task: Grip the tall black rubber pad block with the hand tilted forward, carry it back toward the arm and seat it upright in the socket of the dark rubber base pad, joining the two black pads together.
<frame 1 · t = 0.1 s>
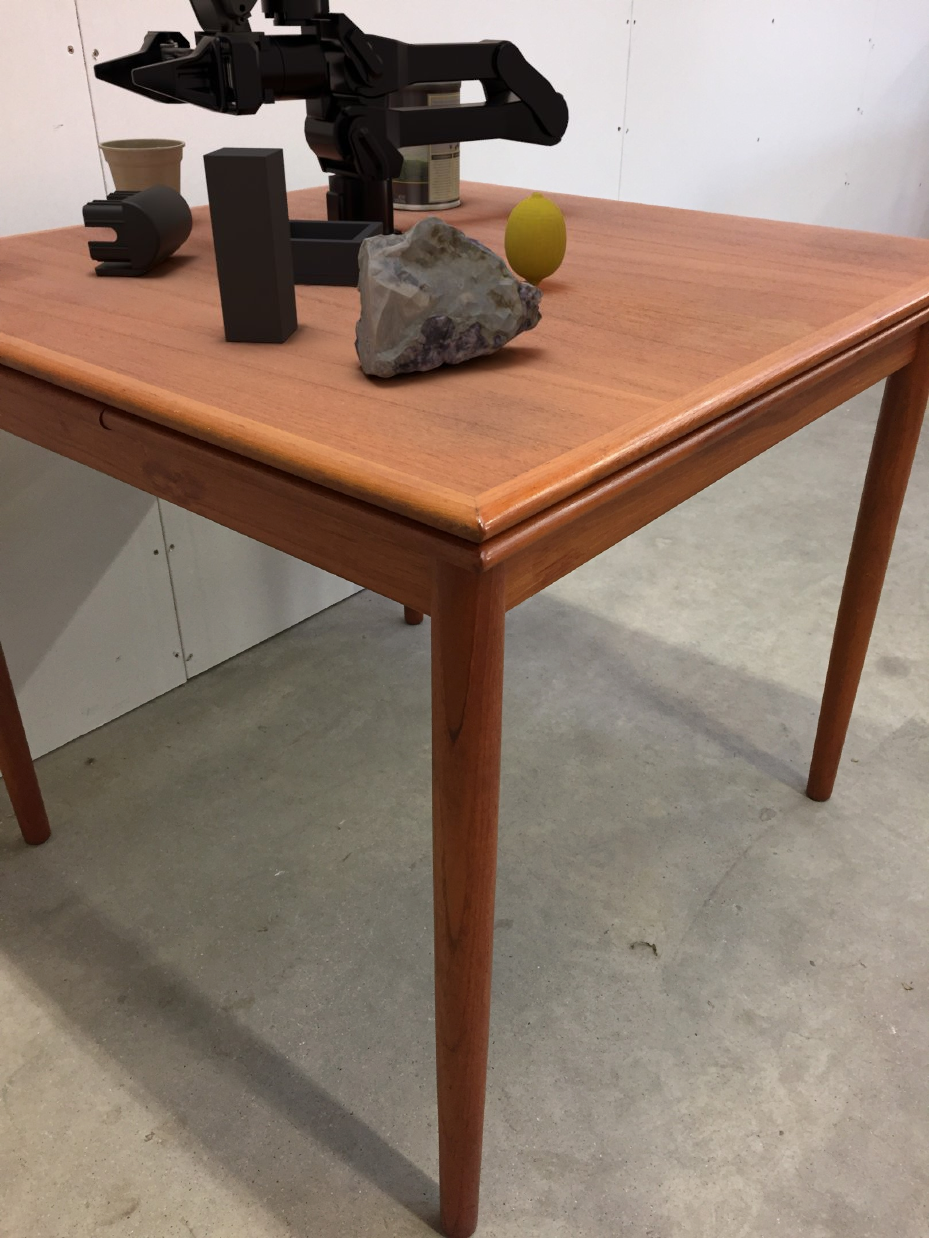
hand: (113, 74, 90), 17 cm above the table, tool horizontal, fingers open, 9 cm apart
mineral rock: (448, 367, 72), on the table
coffee can: (421, 205, 129), on the table
lemon: (533, 288, 92), on the table
flower pot: (154, 226, 117), on the table
pad block: (262, 334, 78), on the table
socket pad: (322, 272, 96), on the table
end cap: (147, 268, 99), on the table
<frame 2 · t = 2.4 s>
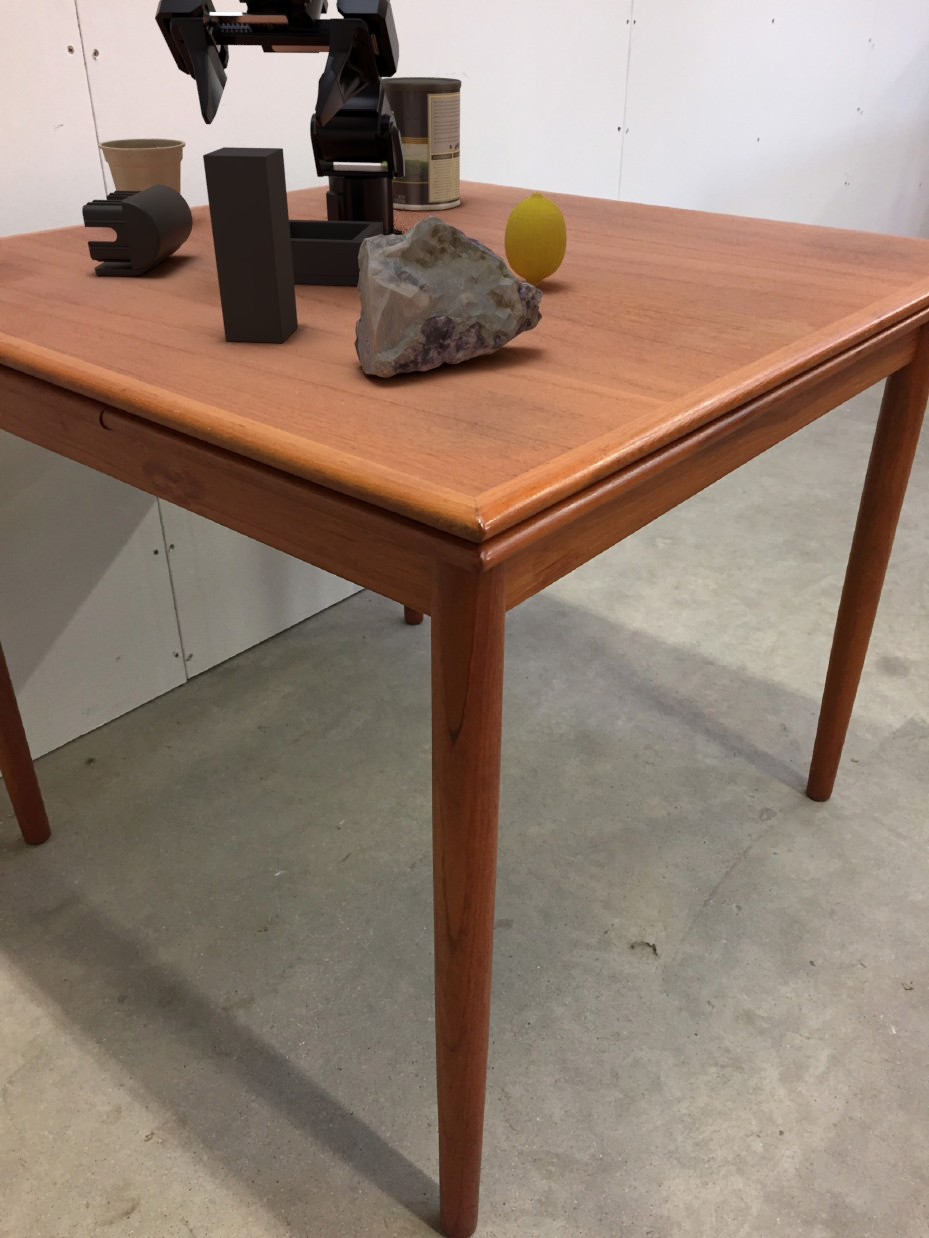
hand: (262, 121, 79), 14 cm above the table, tool tilted 45°, fingers open, 9 cm apart
nothing on the table moved.
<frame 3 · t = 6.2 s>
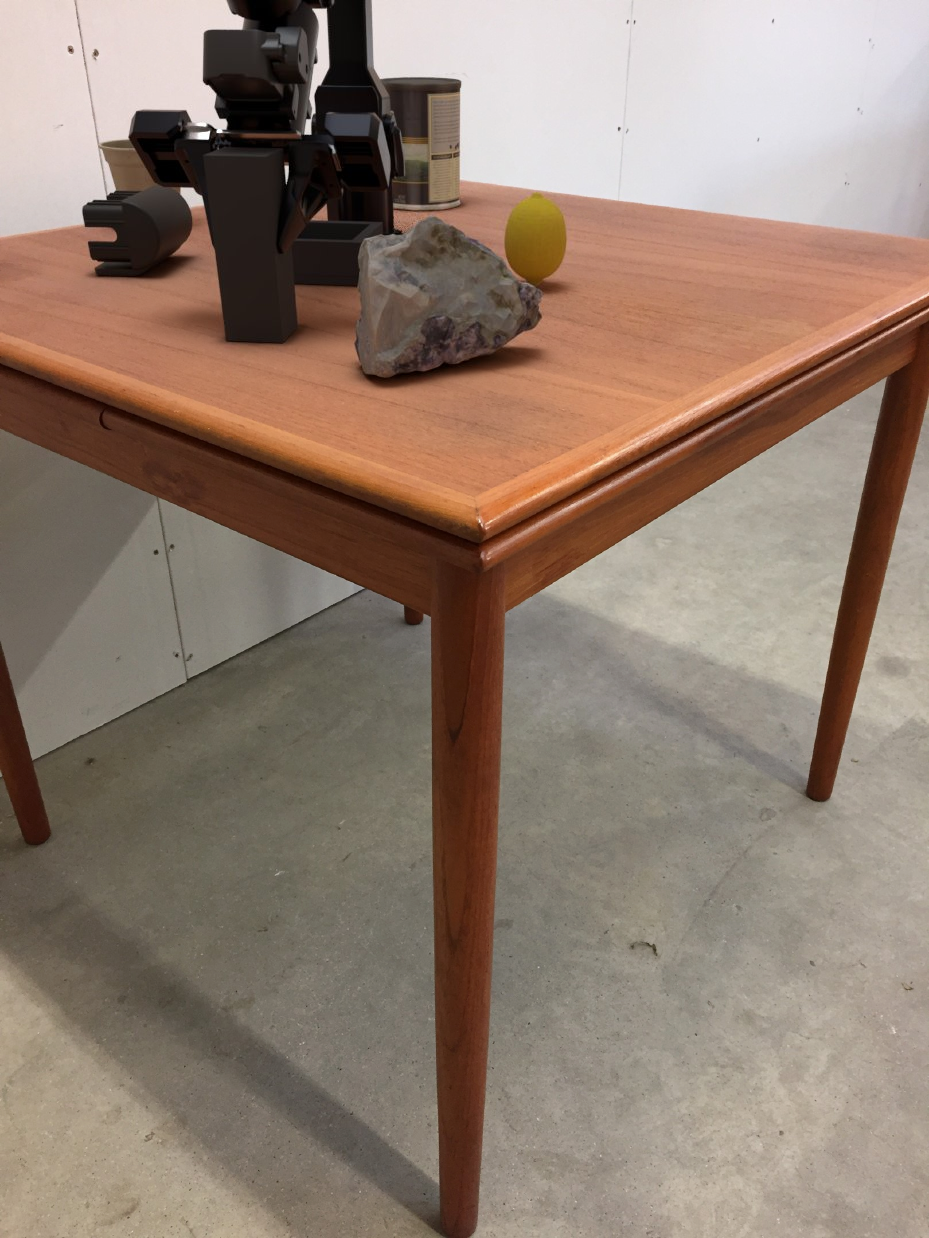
hand: (247, 249, 74), 7 cm above the table, tool tilted 45°, fingers closed on pad block, 4 cm apart
pad block: (262, 333, 78), on the table, touching gripper
everything else where it was.
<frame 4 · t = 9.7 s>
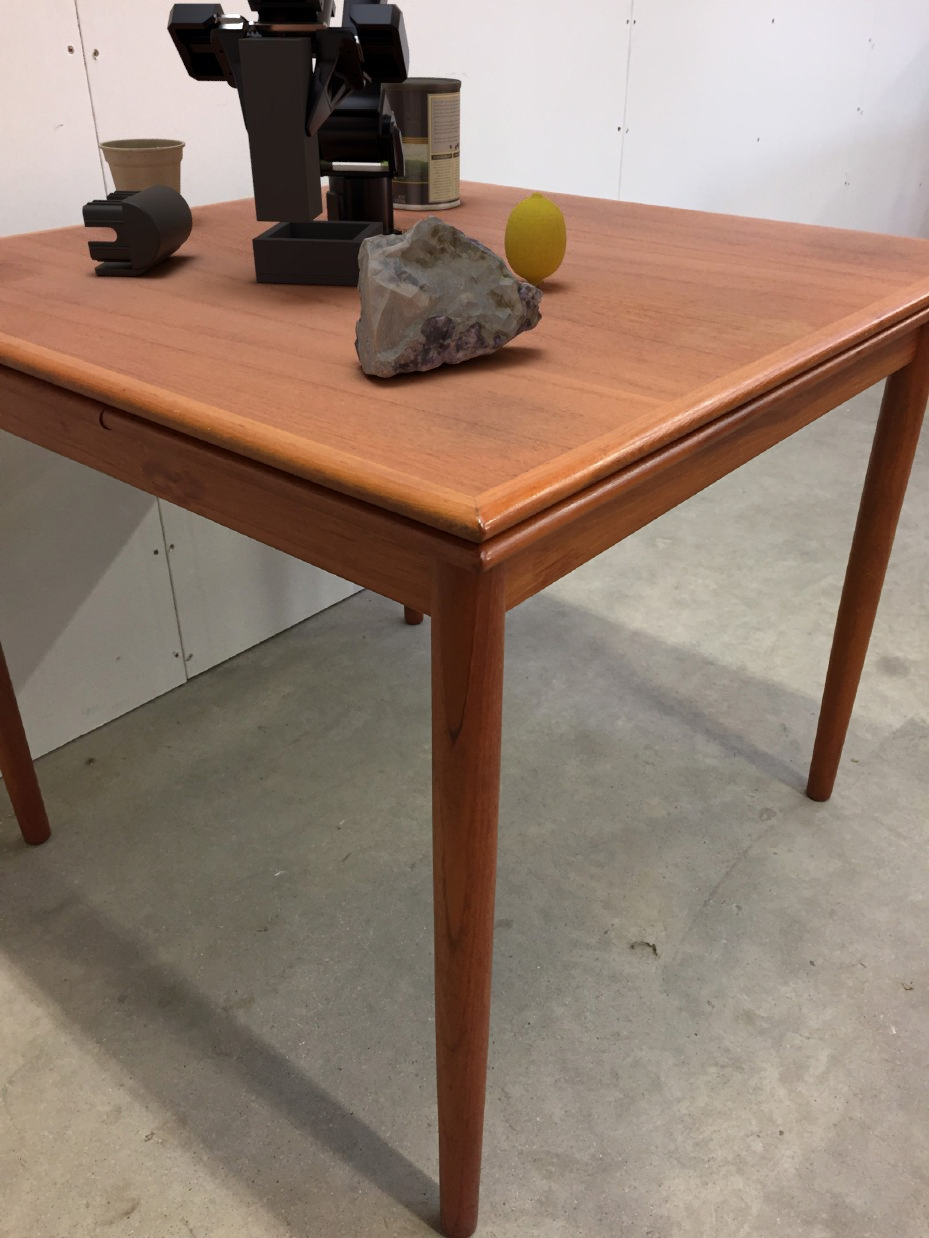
hand: (278, 132, 80), 13 cm above the table, tool tilted 45°, fingers closed on pad block, 4 cm apart
pad block: (290, 217, 84), point 7 cm above the table, touching gripper
everything else where it was.
when the fingers open (7 cm above the table, at t = 13.4 s): pad block stays where it is, resting on socket pad.
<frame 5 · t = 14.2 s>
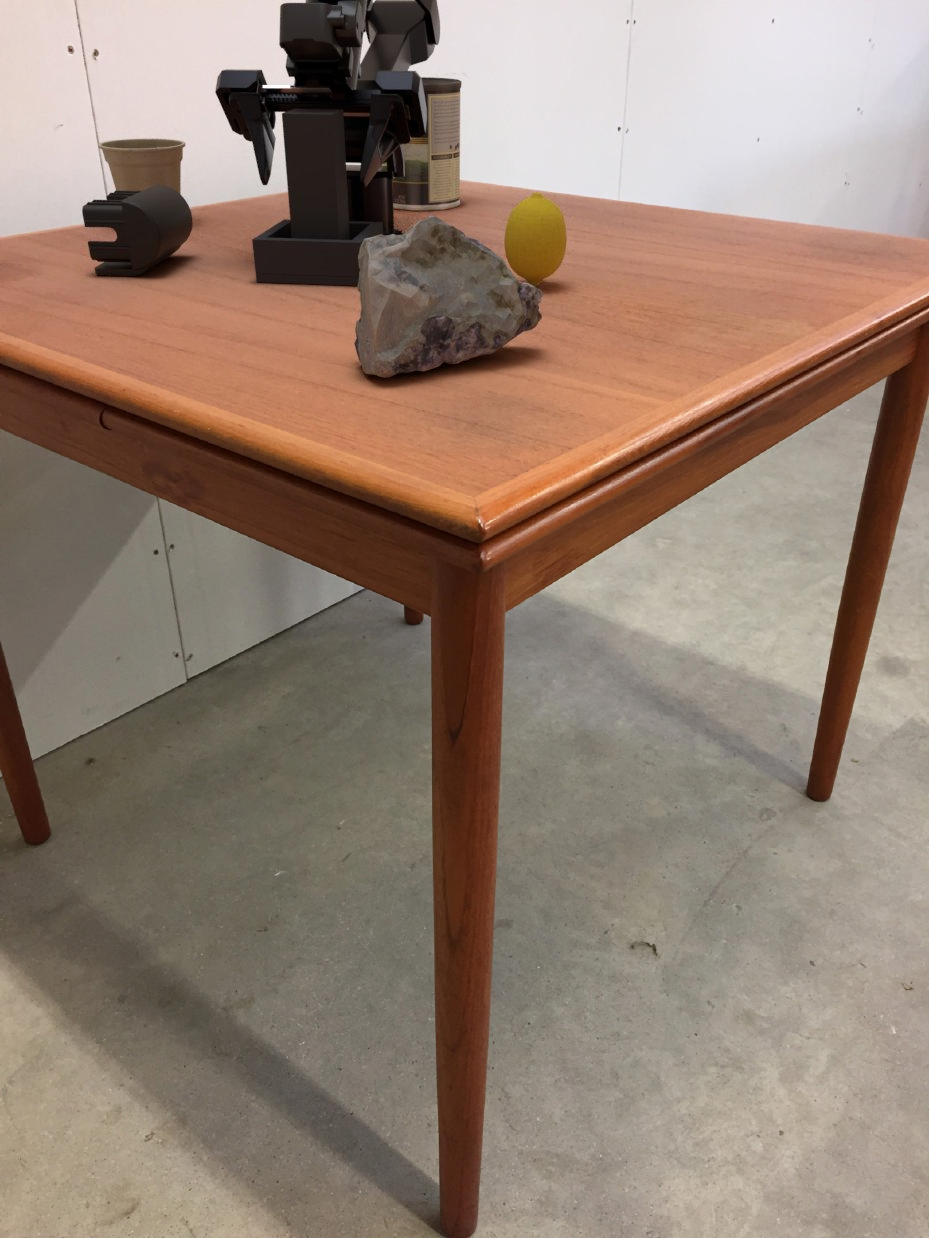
hand: (312, 183, 91), 8 cm above the table, tool tilted 45°, fingers open, 9 cm apart
coffee can: (421, 206, 129), on the table, touching arm
pad block: (322, 262, 96), point 1 cm above the table, touching socket pad
everything else where it was.
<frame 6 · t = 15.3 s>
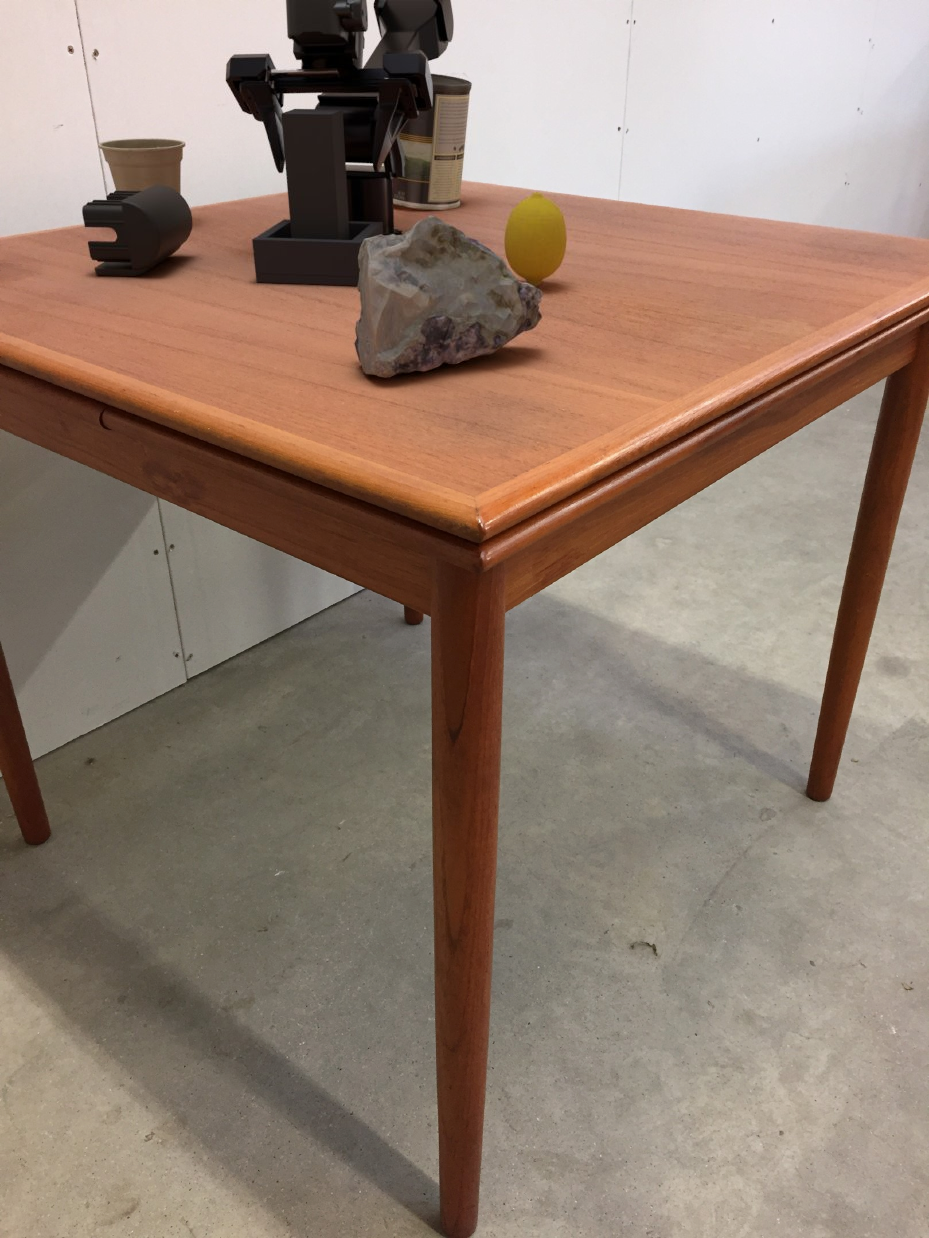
hand: (327, 170, 94), 9 cm above the table, tool tilted 35°, fingers open, 9 cm apart
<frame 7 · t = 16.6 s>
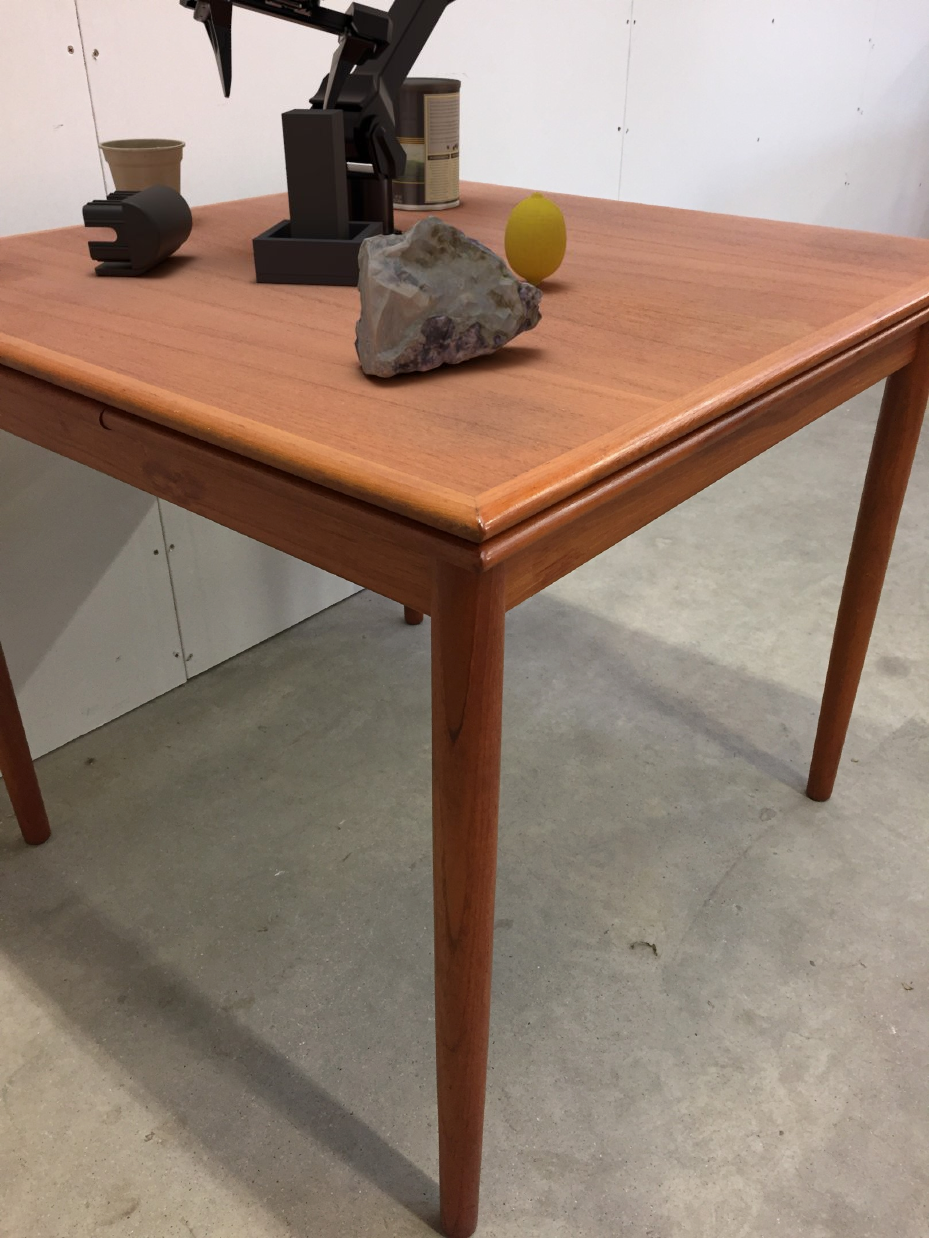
hand: (277, 109, 94), 14 cm above the table, tool tilted 20°, fingers open, 9 cm apart
coffee can: (420, 206, 129), on the table
everything else where it was.
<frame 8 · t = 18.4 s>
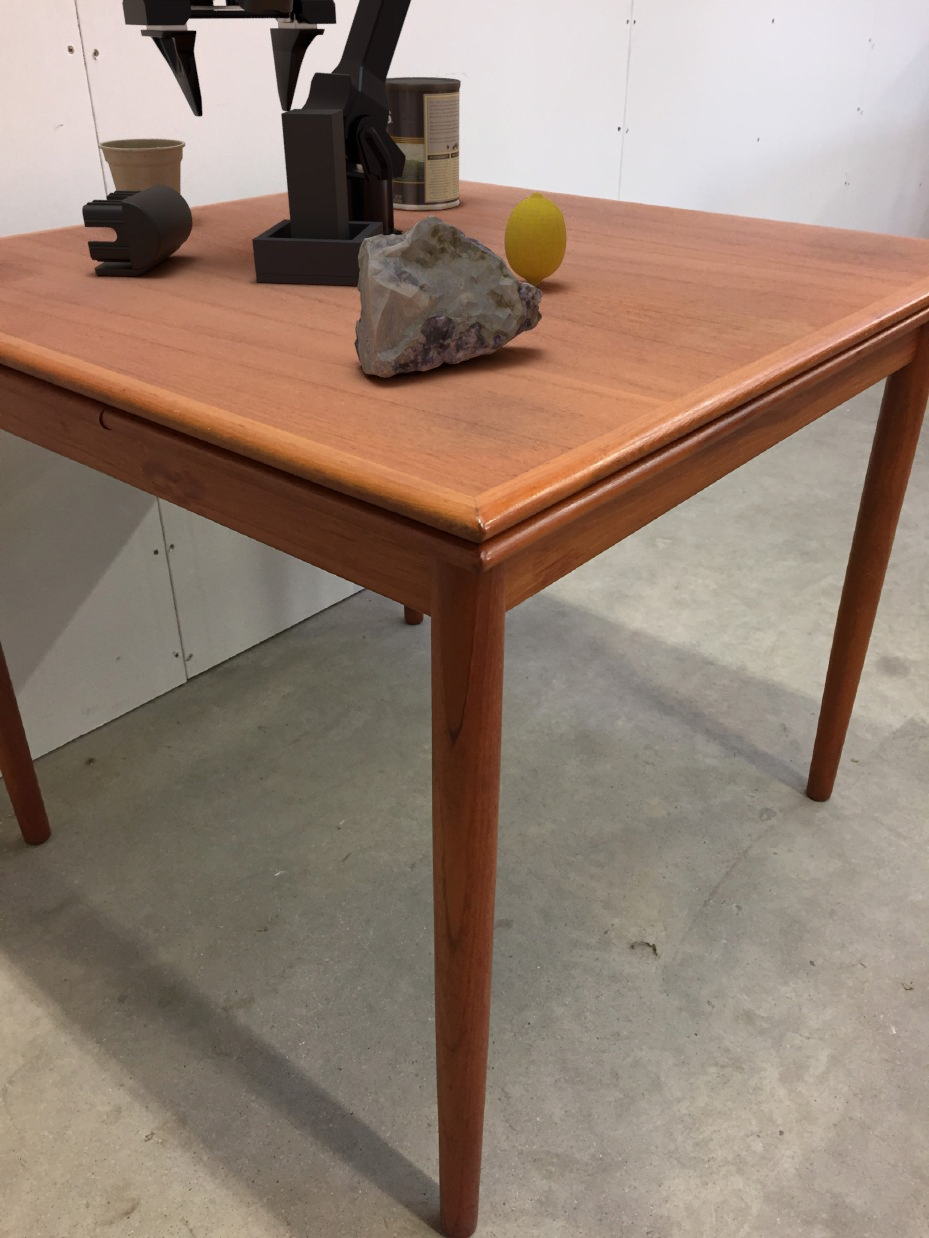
hand: (243, 113, 96), 13 cm above the table, tool pointing down, fingers open, 9 cm apart
nothing on the table moved.
at the end: pad block 0.3 cm off-centre in the socket pad, point 0.8 cm above the socket pad's base; pad block tilted 0°; the gripper is holding nothing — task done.
